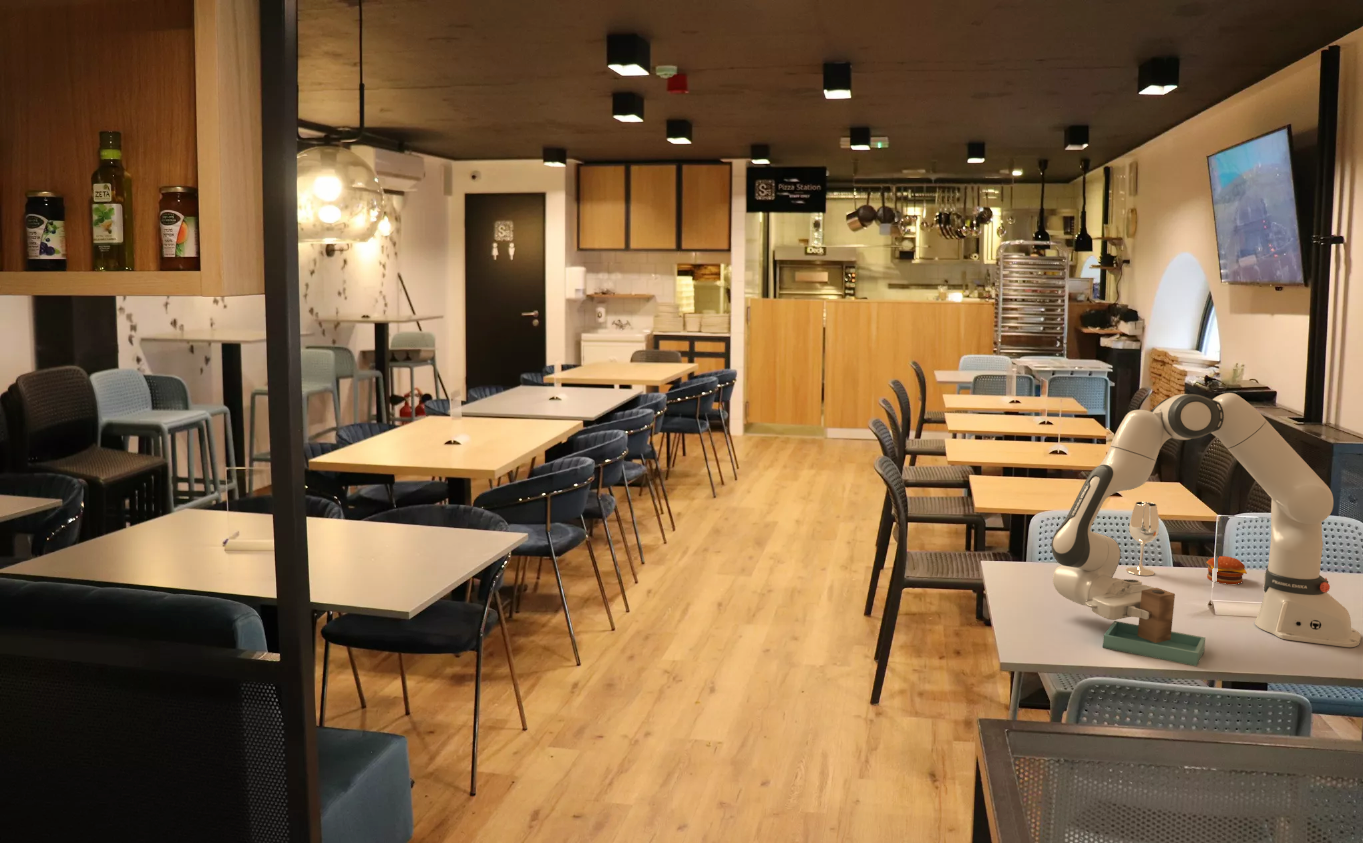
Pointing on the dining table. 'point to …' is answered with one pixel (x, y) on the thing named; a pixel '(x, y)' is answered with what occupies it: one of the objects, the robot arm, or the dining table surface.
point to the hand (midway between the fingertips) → (1159, 614)
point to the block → (1156, 615)
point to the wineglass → (1143, 531)
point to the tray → (1154, 644)
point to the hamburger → (1227, 570)
